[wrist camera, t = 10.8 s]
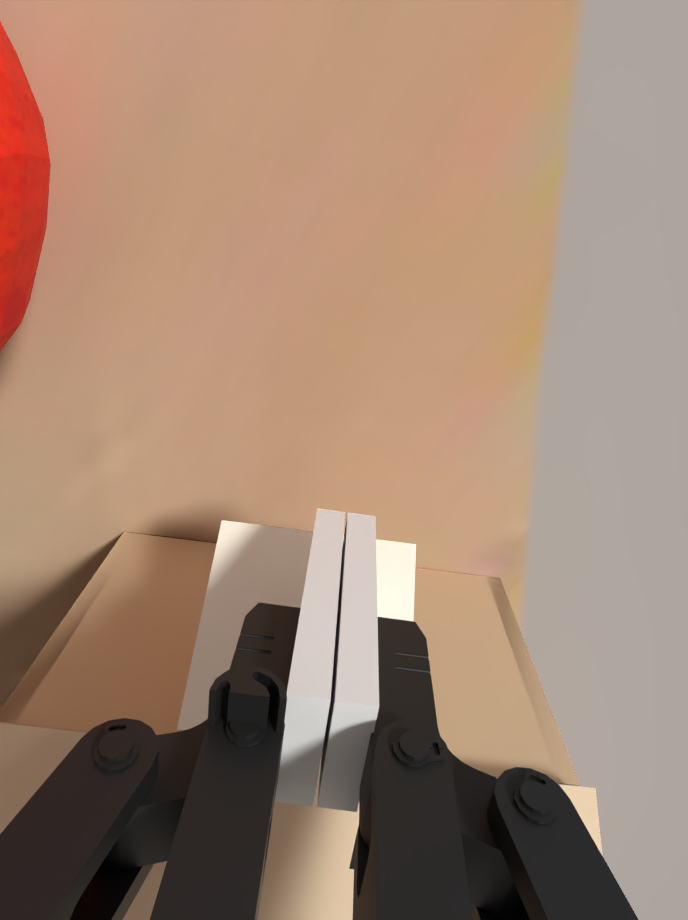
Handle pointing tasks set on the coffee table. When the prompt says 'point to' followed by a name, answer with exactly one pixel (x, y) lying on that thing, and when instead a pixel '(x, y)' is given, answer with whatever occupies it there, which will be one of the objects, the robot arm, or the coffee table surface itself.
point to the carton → (175, 631)
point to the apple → (19, 189)
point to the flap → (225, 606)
